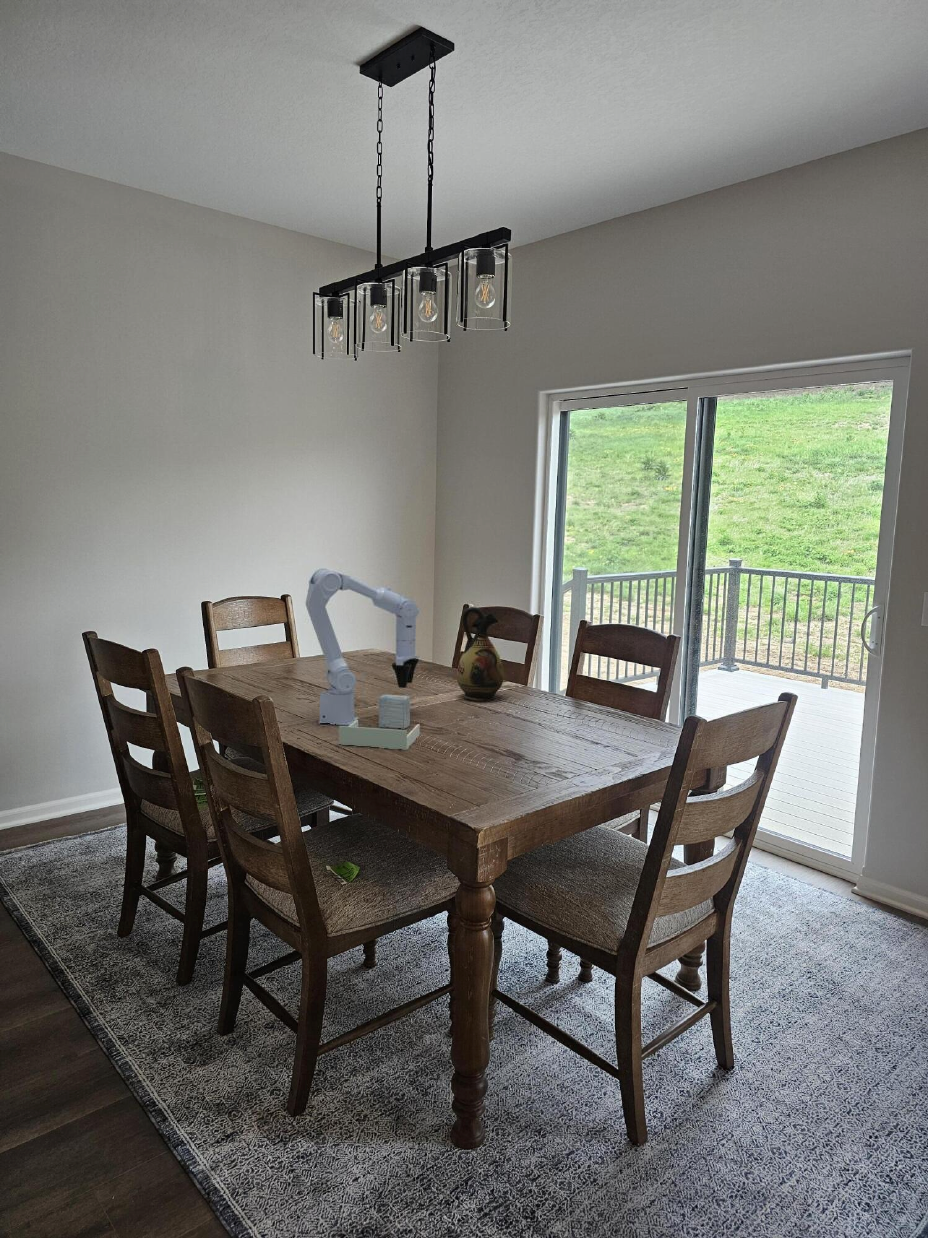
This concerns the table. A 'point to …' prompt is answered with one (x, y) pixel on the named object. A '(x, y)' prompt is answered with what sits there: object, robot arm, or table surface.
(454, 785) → the table surface
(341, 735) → the box
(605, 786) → the table surface
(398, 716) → the medicine box
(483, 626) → the ceramic jug
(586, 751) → the table surface
